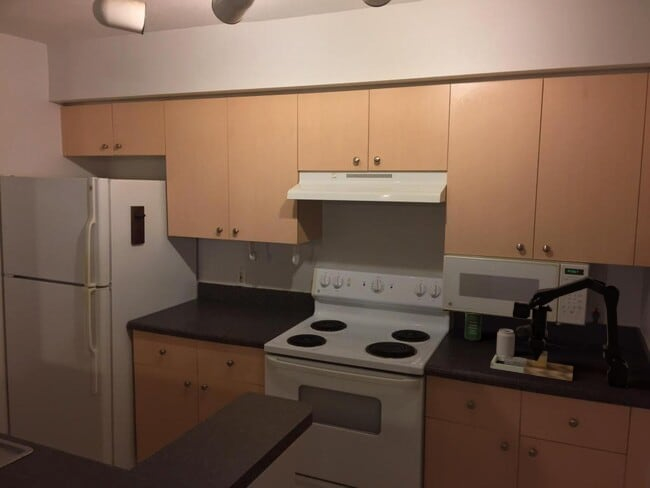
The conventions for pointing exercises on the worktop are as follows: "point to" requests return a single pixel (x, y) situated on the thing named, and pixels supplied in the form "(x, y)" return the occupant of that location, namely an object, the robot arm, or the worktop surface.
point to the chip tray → (505, 367)
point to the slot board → (550, 370)
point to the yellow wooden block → (541, 361)
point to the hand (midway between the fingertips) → (536, 357)
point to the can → (505, 342)
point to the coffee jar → (473, 326)
